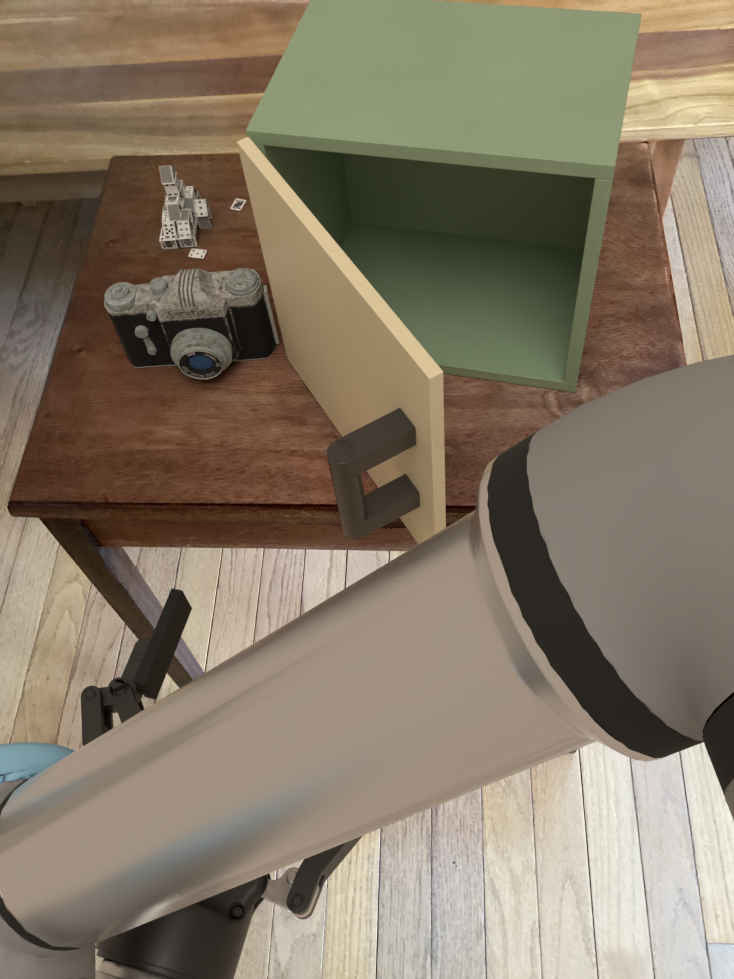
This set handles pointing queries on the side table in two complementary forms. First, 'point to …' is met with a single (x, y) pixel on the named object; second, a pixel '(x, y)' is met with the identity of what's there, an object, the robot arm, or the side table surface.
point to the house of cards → (184, 213)
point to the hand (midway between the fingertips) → (280, 618)
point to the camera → (194, 320)
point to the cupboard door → (353, 365)
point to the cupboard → (460, 166)
